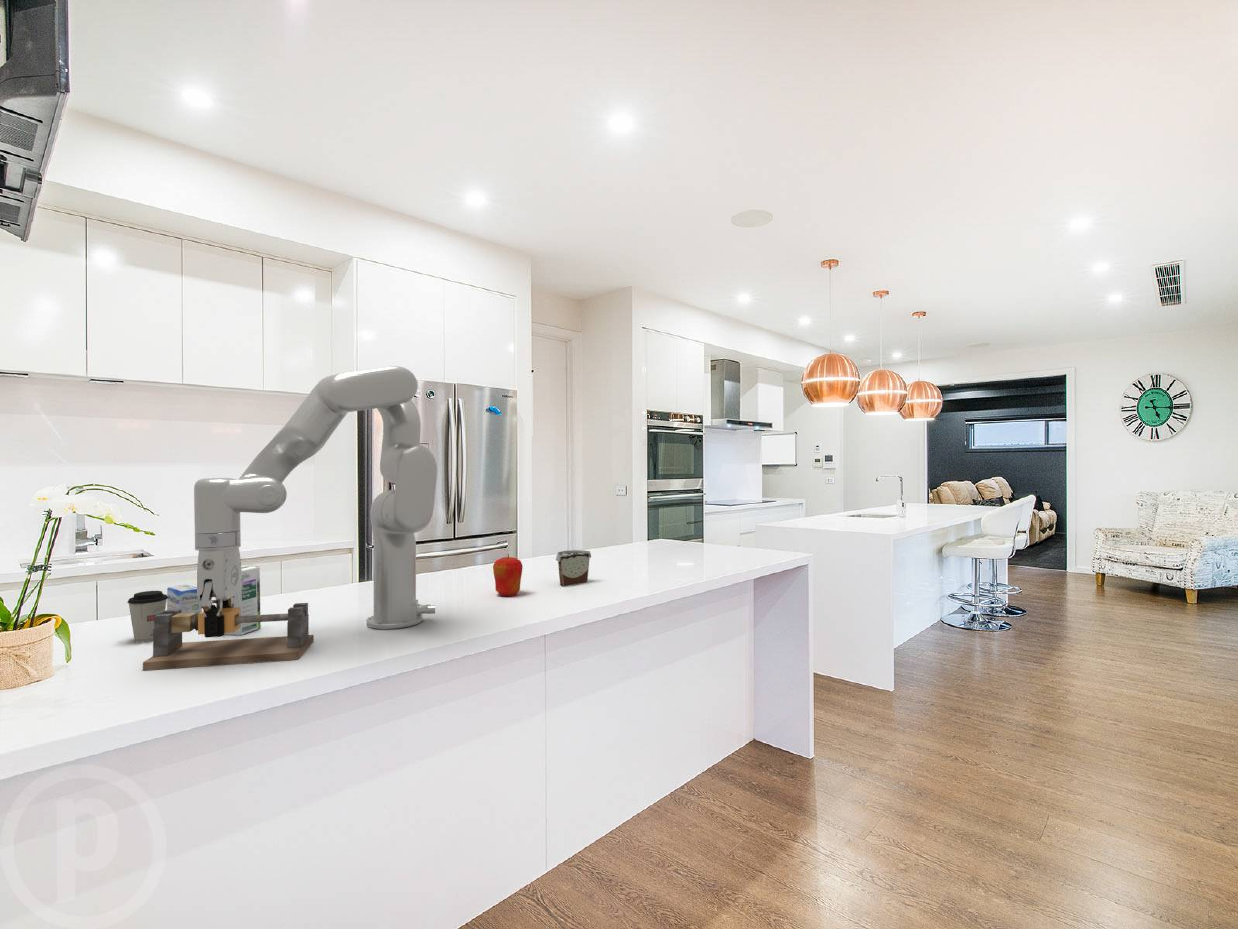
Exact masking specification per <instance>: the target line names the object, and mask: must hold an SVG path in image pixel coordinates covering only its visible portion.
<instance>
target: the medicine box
mask: <svg viewBox="0 0 1238 929" xmlns="http://www.w3.org/2000/svg"><path fill="white" fill-rule="evenodd" d="M166 592H167V594H166V595H167V597H168V599H167V601H166V610H172V609H181V613H201V612H202V611H203V609H202V608H201V606H200V604H201V601H199V600H198V597H197V586H193V585H189V584H181V585H174V586H173V585H172V586H168V587H167V591H166Z"/></svg>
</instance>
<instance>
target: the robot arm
mask: <svg viewBox="0 0 1238 929" xmlns="http://www.w3.org/2000/svg"><path fill="white" fill-rule="evenodd" d="M417 392H418V380H417V378H416V376H415V374H414V373H413V372H412V371H411V370H410V369H407V368H406V367H404V366H399V365H397V366H396V365H395V366H389V367H388V366H387V367H380V368H375V369H374V368H373V369H372V368H371V369H366V370H357V371H345V372H340V373H336V374H333V375H329V376H326V377H323V378H322V379H321V380H319V381H318V382H317V384H316V385H315V386H314V387H313V388H312V389H311V391H310V392H309V393H308V395H307V396H306V397H305V399H304V400H303V401H302V403H301V404H300V405H299V407H298V408H297V410H295V412H294V413H293V414H292V416H291V417H290V418H289V420H288V421H287V422H286V423H285V425H284V426H283V427H282V429H280V430H279V431H278V432H277V433H276V434H275V435H274V437H273V438H272V439H271V440H270V441H269V442H268V443H267V445H265V446H264V448H262V450H261V451H260V452H259V453H258V454H257V455H256V456H255V458H254V459H253V460H252V461H251V463H250V464H249V465H248V466H247V468H246V469H245V470H244V471H243V473H242V474H241V476H240V477H239V478H238V479H236V478H232V477H210V478H200V479H198V480H197V481H195V484H194V486H193V500H194V502H193V503H194V504H193V506H194V507H193V508H194V509H193V510H194V515H193V516H194V550H195V551H198V556H197V566H196V567H197V568H196V569H197V570H196V588H197V597H198V600H199V601H201V604H200V606H201V608H202V611H204V633H205V634H204V638H207V639H208V638H218V637H219V638H221V637H224V636H225V634H224V615H222V608H233V607H234V601H233V598H234V596H235V595H236V594H238V593H239V592H240V591H241V590H242V571H241V566H242V560H241V559H242V558H241V554H240V553H241V552H240V547H242V546H241V545H242V544H241V541H242V540H241V537H242V536H241V535H242V534H241V533H242V532H241V513H252V514H253V513H254V514H268V513H273V512H275V511H277V510H279V509H281V507H282V506H284V504H285V502H286V500H287V497H288V495H287V493H288V492H287V490H286V487H285V485H284V484H283V482H284V481H285V480H286V478H288V476H289V475H291V473H292V472H293V471H294V469H296V468H297V467H298V466H299V465H300V464H302V463H303V462H305V461H307V460H308V459H309V458H312V457H313V456H314V455H316V454H317V453H319V451H321V450H322V449H323V448H324V446H325V445H326V443H327V441H328V440H329V439H330V438H331V436H332V435H333V433H334V432H335V431H336V429H337V428H338V426H339V425H340V424H341V422H342V421H343V420H344V419H345V417H346V416H347V415H348V413H353V412H360V411H366V410H373V409H377V410H378V412H379V414H380V416H381V419H382V423H383V424H382V425H383V428H382V433H383V434H382V439H381V440H382V443H381V449H380V451H381V453H380V460H379V471H380V475H381V477H382V478H383V479H384V480H385V481H387V482H388V483H391V484H395V485H394V487H395V488H394V489H389V490H385V491H383V492H381V493H379V494H378V495H377V496H376V497H375V498H374V499H373V501H372V503H371V507H370V509H369V510H370V513H369V514H370V524H371V529H372V530H371V531H372V540H373V615H371V616H369V617H368V618H367V619H366V626H367V627H369V628H373V629H376V630H377V629H379V630H390V629H391V630H394V629H401V628H402V629H403V628H408V627H412V626H414V625H418V624H420V623H421V622H423V619H424V617H423V616H424V615H423V614H425V615H426V614H427V615H430V614H431V615H432V614H435V615H436V605H435V604H434V605H433V604H432V605H431V604H421V603H419V599H417V542H416V535H415V534H416V533H419V532H421V531H423V530H424V529H426V528H427V526H428V525H429V524H430V522H431V520H432V517H433V514H434V509H435V499H436V489H437V488H436V487H437V479H438V465H437V464H438V463H437V460H436V458H435V456H434V454H433V453H432V451H431V450H430V449H429V448H427V446H424V445H421V431H422V430H421V428H422V426H421V425H422V424H421V417H420V413H419V410H418V408H417V406H416V404H415V403H414V401H413V398H414V397H415V396H416V395H417ZM213 598H215V599H213Z"/></svg>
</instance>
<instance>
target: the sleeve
mask: <svg viewBox="0 0 1238 929" xmlns="http://www.w3.org/2000/svg"><path fill="white" fill-rule="evenodd" d="M222 615H224V633H233V632H235V631H236V630H237V629H239V628H240V627H241V623H235V616H241V607H236V608H222ZM197 635H205V633H204V611H203V610H202V612H201V613H199V614H198V631H197Z"/></svg>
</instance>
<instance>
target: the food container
mask: <svg viewBox="0 0 1238 929" xmlns="http://www.w3.org/2000/svg"><path fill="white" fill-rule="evenodd" d="M590 558H592V553H591V551H590V550H583V549H581V550H579V549H574V550H562V551H558V552H557V554H556V558H555V561H557V564H558V575H559V576H558V577H559V585H560V587H563V588H565V587H571V586H576V585H582V584H583V585H584V584H588V583H589V582H588V581H589V570H590V568H589V567H590Z"/></svg>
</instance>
